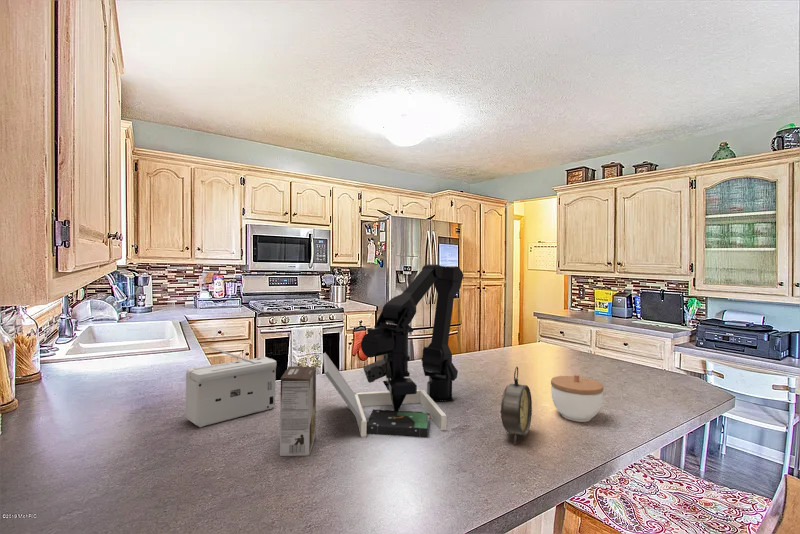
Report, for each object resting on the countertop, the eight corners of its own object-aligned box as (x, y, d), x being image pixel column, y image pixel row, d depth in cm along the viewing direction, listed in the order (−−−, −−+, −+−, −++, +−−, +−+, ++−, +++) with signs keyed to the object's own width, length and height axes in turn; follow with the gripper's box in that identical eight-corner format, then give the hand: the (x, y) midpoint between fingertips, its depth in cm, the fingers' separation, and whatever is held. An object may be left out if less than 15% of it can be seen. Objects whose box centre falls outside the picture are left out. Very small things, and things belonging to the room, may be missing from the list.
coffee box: (287, 437, 88) (288, 365, 88) (316, 436, 89) (317, 365, 89) (278, 456, 79) (279, 377, 79) (310, 456, 80) (311, 377, 80)
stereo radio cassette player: (264, 401, 111) (266, 331, 111) (278, 409, 105) (279, 335, 105) (184, 421, 97) (185, 340, 97) (195, 431, 91) (196, 345, 91)
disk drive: (365, 437, 91) (429, 440, 89) (365, 425, 91) (429, 427, 89) (372, 419, 101) (430, 422, 99) (372, 408, 101) (430, 411, 99)
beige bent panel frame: (423, 401, 113) (423, 348, 113) (446, 430, 93) (447, 366, 93) (321, 407, 107) (322, 352, 107) (323, 439, 87) (324, 371, 87)
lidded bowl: (598, 411, 107) (599, 371, 107) (606, 429, 95) (607, 384, 95) (549, 405, 111) (550, 366, 111) (551, 422, 99) (552, 378, 99)
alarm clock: (520, 448, 85) (521, 373, 85) (496, 442, 88) (497, 369, 88) (532, 430, 94) (534, 363, 94) (510, 425, 97) (511, 360, 97)
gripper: (361, 344, 108) (360, 400, 108) (371, 360, 90) (370, 428, 90) (400, 343, 111) (399, 398, 111) (417, 359, 93) (416, 424, 93)
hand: (395, 411), depth 101 cm, fingers closed
